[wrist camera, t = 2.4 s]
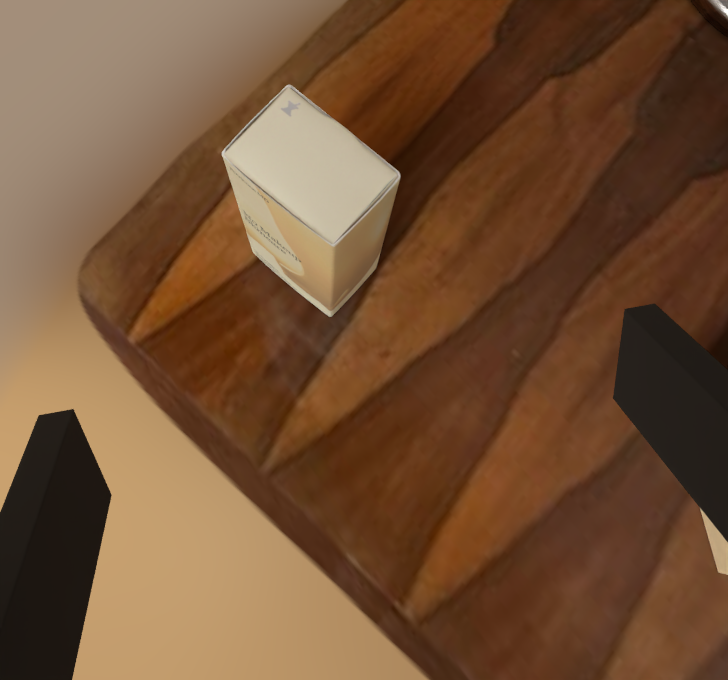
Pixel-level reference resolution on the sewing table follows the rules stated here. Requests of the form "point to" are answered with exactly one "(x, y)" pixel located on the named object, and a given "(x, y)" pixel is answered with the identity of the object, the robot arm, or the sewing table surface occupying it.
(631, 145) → the sewing table surface
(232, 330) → the sewing table surface
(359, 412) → the sewing table surface
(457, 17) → the sewing table surface
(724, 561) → the block stack
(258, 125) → the cosmetic box
